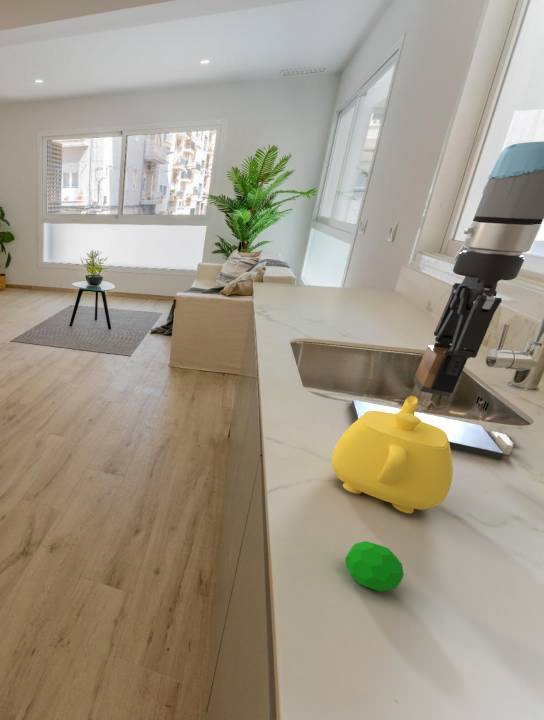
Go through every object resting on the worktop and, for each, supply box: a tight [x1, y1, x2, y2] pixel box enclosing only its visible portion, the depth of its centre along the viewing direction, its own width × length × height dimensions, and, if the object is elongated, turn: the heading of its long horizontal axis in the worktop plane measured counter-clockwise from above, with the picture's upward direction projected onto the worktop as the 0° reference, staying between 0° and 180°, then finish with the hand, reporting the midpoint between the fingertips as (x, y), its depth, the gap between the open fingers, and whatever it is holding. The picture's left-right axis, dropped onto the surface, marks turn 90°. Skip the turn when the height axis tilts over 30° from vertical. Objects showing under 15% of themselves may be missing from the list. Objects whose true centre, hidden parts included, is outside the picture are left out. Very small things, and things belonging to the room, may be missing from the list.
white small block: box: [494, 435, 514, 456], centre depth 74 cm, size 2×4×1 cm
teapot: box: [331, 395, 454, 514], centre depth 61 cm, size 13×20×12 cm
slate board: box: [350, 399, 505, 461], centre depth 80 cm, size 20×11×2 cm, turn 61°
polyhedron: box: [344, 540, 405, 592], centre depth 47 cm, size 5×5×5 cm
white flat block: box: [489, 430, 515, 446], centre depth 77 cm, size 2×4×1 cm, turn 150°
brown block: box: [412, 345, 452, 398], centre depth 76 cm, size 4×6×7 cm, turn 150°
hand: (436, 383), depth 76 cm, fingers closed on brown block, 6 cm apart
